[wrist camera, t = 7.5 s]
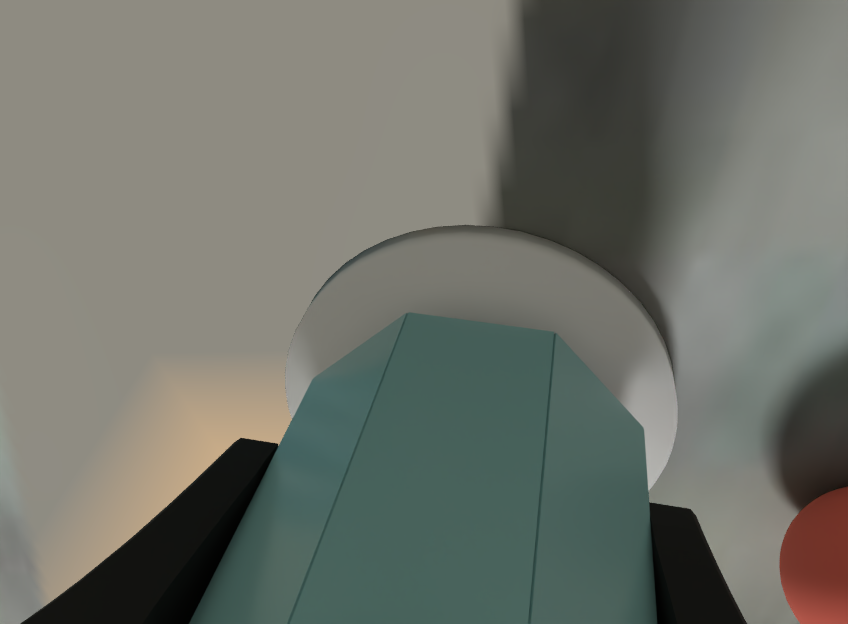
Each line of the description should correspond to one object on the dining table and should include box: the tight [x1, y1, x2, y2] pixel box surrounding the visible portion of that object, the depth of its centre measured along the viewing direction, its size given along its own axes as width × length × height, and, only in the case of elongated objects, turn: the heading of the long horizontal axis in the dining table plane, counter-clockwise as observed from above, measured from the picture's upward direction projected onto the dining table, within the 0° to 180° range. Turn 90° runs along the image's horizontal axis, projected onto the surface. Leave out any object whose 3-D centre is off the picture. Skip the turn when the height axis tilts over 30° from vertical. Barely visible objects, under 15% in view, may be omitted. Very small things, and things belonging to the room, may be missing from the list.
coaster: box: [285, 225, 678, 491], centre depth 14 cm, size 7×7×1 cm
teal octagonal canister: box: [189, 312, 657, 624], centre depth 11 cm, size 6×6×6 cm
